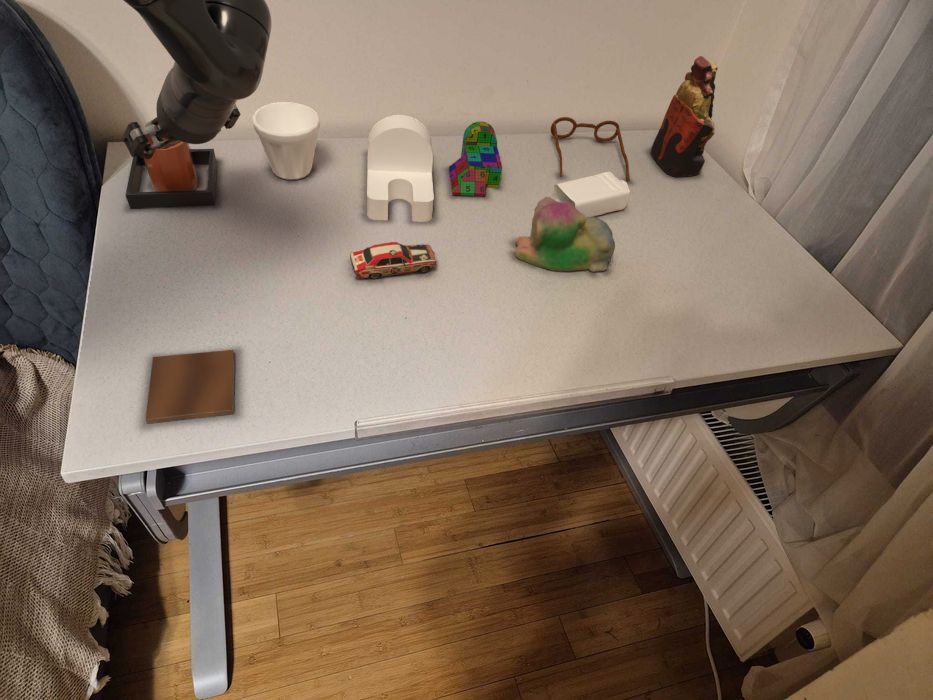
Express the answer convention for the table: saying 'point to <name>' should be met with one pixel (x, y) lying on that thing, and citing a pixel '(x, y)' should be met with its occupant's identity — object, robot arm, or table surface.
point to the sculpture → (566, 239)
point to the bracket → (400, 167)
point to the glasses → (575, 125)
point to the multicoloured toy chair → (476, 162)
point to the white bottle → (593, 194)
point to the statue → (687, 123)
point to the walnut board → (191, 386)
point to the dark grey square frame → (173, 197)
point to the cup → (288, 137)
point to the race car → (392, 260)
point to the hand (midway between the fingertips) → (174, 143)
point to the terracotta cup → (172, 168)
